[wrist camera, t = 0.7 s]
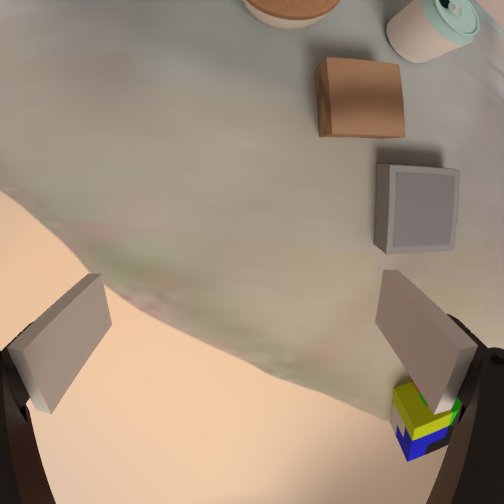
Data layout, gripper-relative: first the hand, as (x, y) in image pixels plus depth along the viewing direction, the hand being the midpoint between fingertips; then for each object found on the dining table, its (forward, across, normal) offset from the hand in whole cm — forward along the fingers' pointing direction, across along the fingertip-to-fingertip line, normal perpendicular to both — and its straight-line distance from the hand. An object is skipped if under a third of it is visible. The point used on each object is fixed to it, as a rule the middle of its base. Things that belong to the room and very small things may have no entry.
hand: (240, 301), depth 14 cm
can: (+24, +21, +23) cm, 39 cm away
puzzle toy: (+24, +30, -33) cm, 50 cm away
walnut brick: (+24, +12, +13) cm, 29 cm away
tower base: (+23, +21, +1) cm, 31 cm away
